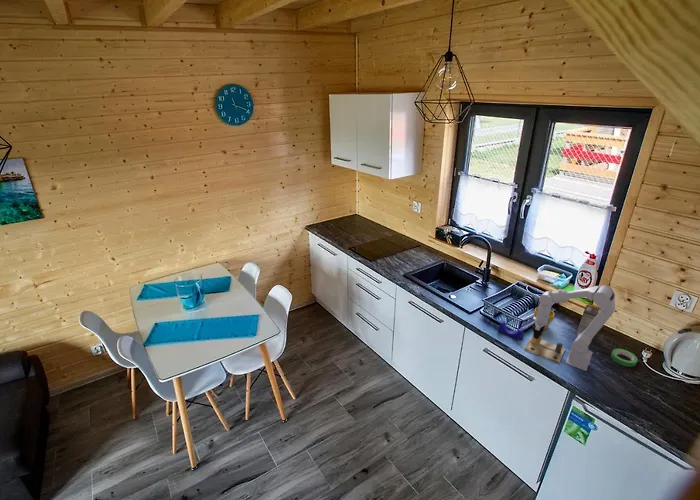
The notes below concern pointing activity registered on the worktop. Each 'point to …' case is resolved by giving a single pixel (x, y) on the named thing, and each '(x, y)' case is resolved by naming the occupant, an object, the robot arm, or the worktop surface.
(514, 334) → the cable clip
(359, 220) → the worktop surface
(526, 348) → the tan base plate
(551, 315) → the plant pot
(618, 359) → the tape roll
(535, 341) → the block
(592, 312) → the coffee box
